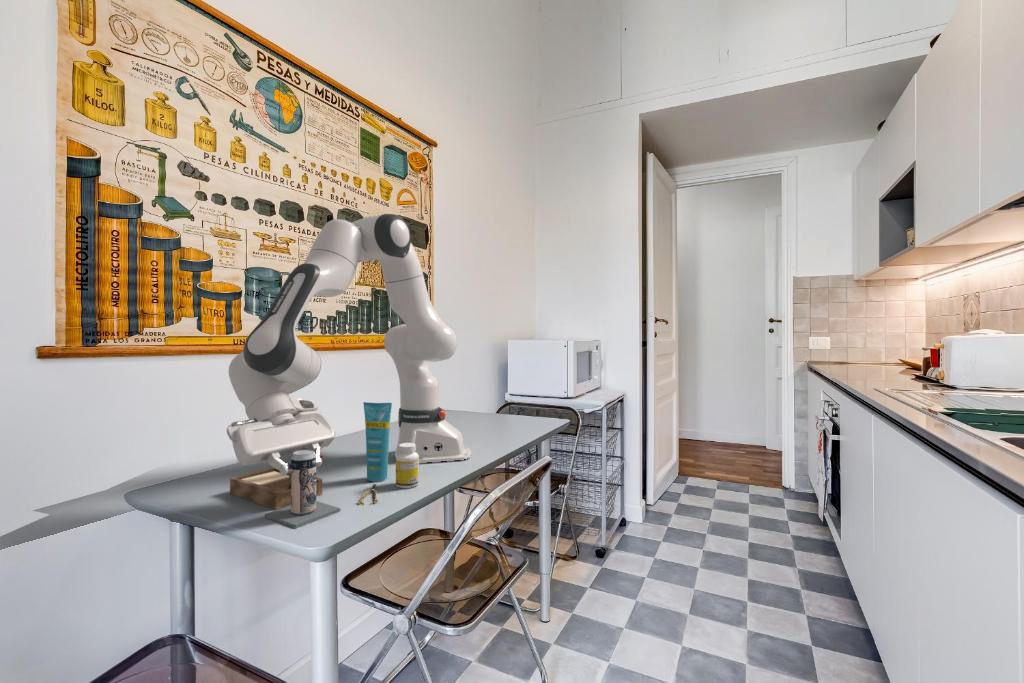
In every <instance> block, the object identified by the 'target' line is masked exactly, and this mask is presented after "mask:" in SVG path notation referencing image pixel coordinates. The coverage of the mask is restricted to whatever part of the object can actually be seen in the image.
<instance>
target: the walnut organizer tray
mask: <svg viewBox="0 0 1024 683" xmlns="http://www.w3.org/2000/svg"><path fill="white" fill-rule="evenodd" d="M230 493H231V494H230ZM229 494H230V495H232V494H234V495H233V496H235V495H236V496H235V497H238V496H239V497H238V498H241V497H242V498H241V499H243V500H246V499H247V501H250V502H252V501H253V503H256V504H259V505H262V506H265V507H268V508H270V509H273V510H278V509H281V508H284V507H287V506H290V505H291V474H290V475H286V476H282V475H281V473H280V471H279V470H278V469H276V468H274V467H273V466H272V467H269V468H266V469H262V470H257V471H253V472H250V473H246V474H242V475H238V476H234V477H231V478H229ZM321 495H323V478H321V477H317V476H316V497H318V496H321Z"/></svg>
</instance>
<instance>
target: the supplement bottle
mask: <svg viewBox="0 0 1024 683" xmlns="http://www.w3.org/2000/svg"><path fill="white" fill-rule="evenodd" d="M415 450H416V444H414V443H402V444H400V445H399V452H400V453H399V454H397V456H396V457H395V486H396V487H397V488H399V487H400V489H412V488H415V486H416V487H418V485H419V483H420V476H419V475H420V471H419V470H420V468H419V467H420V463H419V455H418V454H417V453H416V452H415ZM411 487H412V488H411Z"/></svg>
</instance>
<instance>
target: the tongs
mask: <svg viewBox="0 0 1024 683" xmlns="http://www.w3.org/2000/svg"><path fill="white" fill-rule="evenodd" d="M376 486H377V484H375V483H373V484H372V486H371V488H370V489H368V490H366V491H364V493H363V495H362V496H361V498H360V500H358V501H357V503H358V505H359V504H363V505H362V506H364V505H365V502H364V500H365V499H366V498H367V497H366V496H368V495H370V493H371V492H373V493H374V500H373V501H370V505H371V504H372V505H375V503H376V504H377V503H378V501H379V500H378V499H377V490H376ZM372 489H374V490H372ZM365 497H366V498H365ZM364 498H365V499H364ZM362 499H363V500H362ZM375 499H376V500H375ZM362 501H363V502H362ZM373 502H375V503H374V504H373Z"/></svg>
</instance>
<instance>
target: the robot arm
mask: <svg viewBox="0 0 1024 683" xmlns="http://www.w3.org/2000/svg"><path fill="white" fill-rule="evenodd" d="M411 241H412V236H411V230H410V227H409V224H407V222H406V221H405V220H404V219H403V217H401V215H398V214H394V213H393V214H392V213H383V214H381V215H372V216H370V215H369V216H365V217H362V218H360V219H357V220H354V221H351V222H350V221H348V220H345V219H339V218H337V219H336V218H335V219H331V220H329V221H327V223H326V224H324V226H322V229H321V230H320V231H319V233H318V235H317V237H316V238H315V240H314V242H313V243H312V246H311V248H310V250H309V253H308V255H307V257H306V258H305V261H304V262H302V263H301V264H298V265H297V266H296V267H295V268H294V269H293V270H292V271H291V272H290V274H289V275H288V276H287V278H286V279H285V281H284V283H283V285H281V288H280V289H279V291H278V293H277V294H276V296H275V298H274V300H273V301H272V303H271V305H270V306H269V307H268V310H267V312H266V313H265V314H264V316H263V318H262V319H261V320H260V321H259V323H258V324H257V325H256V326H255V327H254V329H253V330H252V331H251V332H250V333H249V334H248V336H247V337H246V339H245V340H244V341H245V342H244V345H243V350H242V352H240V353H238V354H237V355H236V356H234V357H233V359H232V360H231V361H230V363H229V365H228V378H229V381H230V384H231V386H232V389H233V392H234V393H235V395H236V397H237V399H238V400H239V402H241V404H243V405H244V410H245V414H246V416H247V418H248V419H245V420H241V421H240V420H239V421H234V422H232V423H231V424H230V425H228V426H227V428H226V434H227V436H228V439H229V440H231V443H232V448H233V451H234V454H235V457H236V459H237V461H238V463H239V464H240V465H242V466H244V467H246V466H250V465H255V464H259V463H263V462H267V463H268V465H270V467H272V468H273V467H274V468H276V469H278V470H279V471H280V473H281V475H282V476H286V475H290V474H291V472H292V471H293V468H292V467H291V462H287V463H286V462H284V461H283V460H282V459H280V458H286V457H289V456H292V455H293V453H294V452H295V451H299V450H314V452H315V454H316V455H317V457H316V468H318V467H319V468H320V466H321V465H322V464H323V459H322V457H321V458H320V456H321V454H320V452H321V450H320V448H322V449H323V448H327V447H328V446H330V445H331V444H332V442H333V441H334V440H335V438H336V431H335V429H334V427H333V425H332V423H331V422H330V420H329V419H328V417H327V416H326V414H324V413H323V412H322V411H319V410H318V409H319V405H318V403H317V401H315V400H309V399H302V398H298V397H293V396H290V394H292V393H295V392H297V391H299V390H301V389H303V388H304V387H306V386H309V385H310V384H311V383H313V382H314V381H315V380H316V379H317V377H318V376H319V374H320V372H321V368H322V360H321V356H320V355H319V353H318V352H317V351H316V350H314V349H313V348H312V347H311V346H309V345H308V344H307V343H305V342H303V341H302V340H301V339H299V338H298V336H297V331H296V328H297V325H298V323H299V321H300V319H301V318H302V317H303V314H304V313H305V310H306V308H307V306H308V304H309V303H310V301H311V300H312V298H314V297H315V296H317V297H323V298H333V297H337V296H340V295H342V294H344V293H345V292H346V291H347V290H348V289H349V287H350V286H351V284H352V282H353V279H354V276H355V275H356V274H355V273H356V270H357V267H358V264H359V263H362V262H371V261H378V262H379V264H380V268H381V272H382V278H383V282H384V285H385V289H386V292H387V293H386V294H387V296H388V302H389V305H390V306H389V307H390V308H391V309H392V311H393V312H394V313H395V314H396V315H398V316H399V317H400V318H401V320H402V322H403V323H402V324H399V325H396V326H394V327H391V328H389V329H388V330H387V332H386V333H385V336H384V339H383V344H384V345H383V346H384V349H385V351H386V352H387V354H388V355H389V356H390V358H392V361H393V363H394V366H395V368H396V373H397V374H398V379H399V391H400V392H399V394H400V395H399V396H400V399H399V400H400V401H399V402H400V406H399V408H398V412H397V413H398V415H397V416H398V417H397V418H398V423H397V424H398V427H399V429H398V431H399V432H398V437H397V443H396V448H395V452H394V458H396V456H397V454H399V453H400V452H399V445H400V444H402V443H414V444H416V450H415V452H416V453H417V454H418V455H419V464H428V463H427V462H432V463H442V462H441V461H447V462H455V461H454V460H461V461H465V460H464V459H466V460H468V459H469V458H468V457H470V458H471V456H472V450H471V448H470V447H468V446H467V445H465V442H464V437H463V434H462V432H461V431H460V430H459V429H458V428H456V427H455V426H454V425H452V424H451V423H450V422H448V421H447V420H446V415H447V413H446V410H445V409H444V408H442V407H440V406H439V382H438V379H437V378H436V376H434V375H433V374H432V372H431V370H430V367H429V365H428V362H429V363H430V362H431V363H436V362H442V361H447V360H449V359H451V358H452V357H453V356H454V354H455V352H456V350H457V347H458V339H457V336H456V333H455V332H454V330H453V329H452V328H451V327H449V326H448V325H447V324H445V322H444V321H443V320H442V319H441V317H440V315H438V314H439V313H437V311H436V309H435V307H434V305H433V304H432V302H431V299H430V296H429V295H430V294H429V292H428V289H427V284H426V281H425V276H424V273H423V269H422V266H421V262H420V259H419V256H418V254H417V251H416V249H415V247H414V245H413V243H412V242H411ZM470 455H471V456H470ZM467 458H468V459H467Z"/></svg>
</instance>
